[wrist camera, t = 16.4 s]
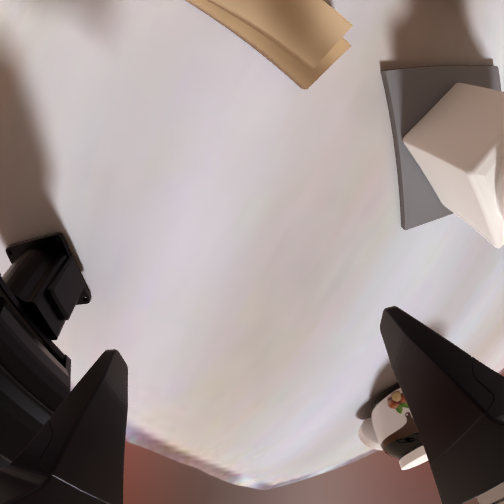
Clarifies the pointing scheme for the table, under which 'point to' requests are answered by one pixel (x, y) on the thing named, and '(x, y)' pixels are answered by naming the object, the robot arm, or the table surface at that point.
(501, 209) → the medicine bottle
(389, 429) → the spread jar
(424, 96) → the rubber mat
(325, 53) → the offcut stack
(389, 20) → the table surface
